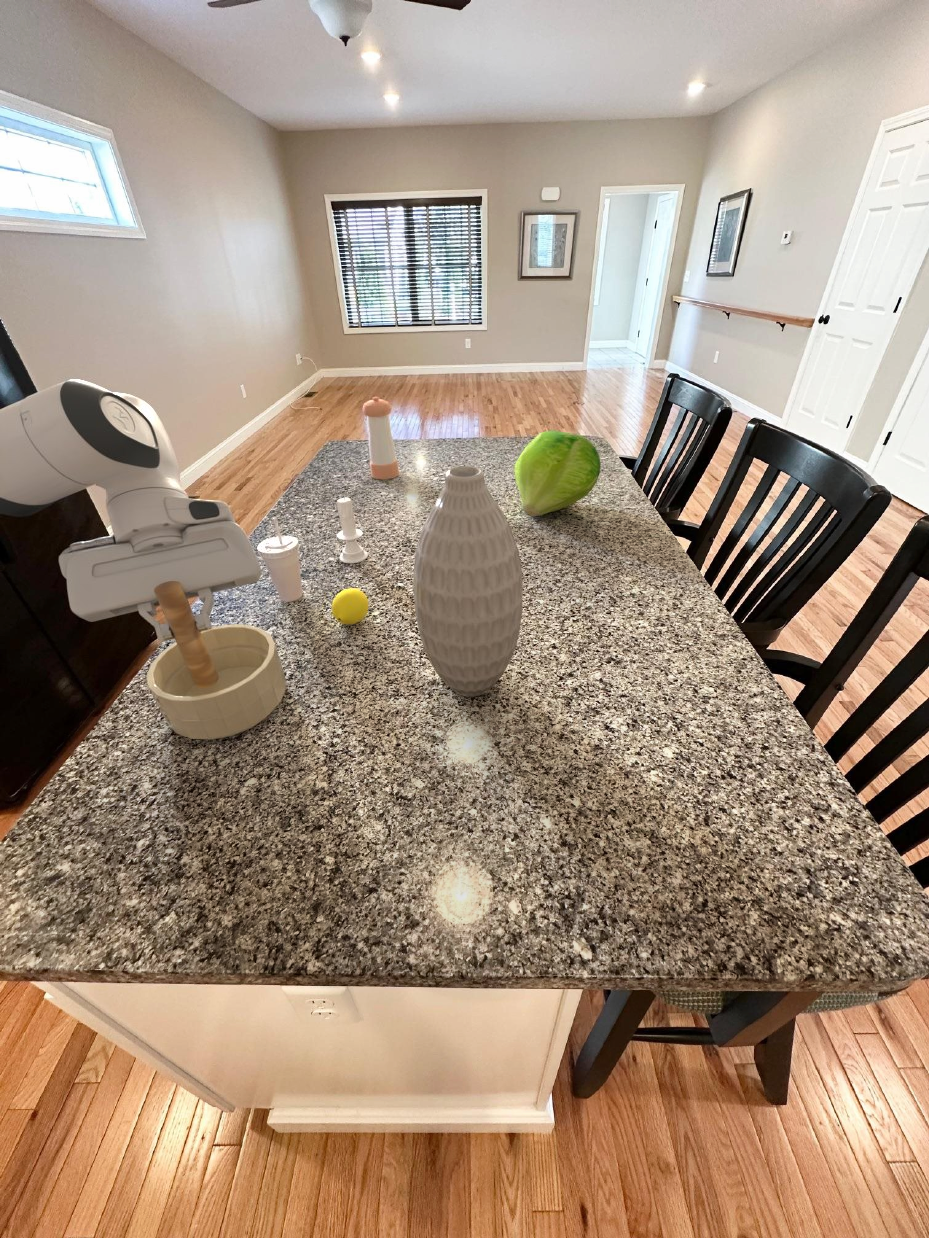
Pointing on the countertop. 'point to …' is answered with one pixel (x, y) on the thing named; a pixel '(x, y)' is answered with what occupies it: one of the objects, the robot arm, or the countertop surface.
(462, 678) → the vase
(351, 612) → the lemon
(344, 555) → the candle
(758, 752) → the countertop surface
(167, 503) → the robot arm
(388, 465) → the pepper shaker
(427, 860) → the countertop surface
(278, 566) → the smoothie
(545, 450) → the lettuce
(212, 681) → the stick
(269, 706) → the bowl
